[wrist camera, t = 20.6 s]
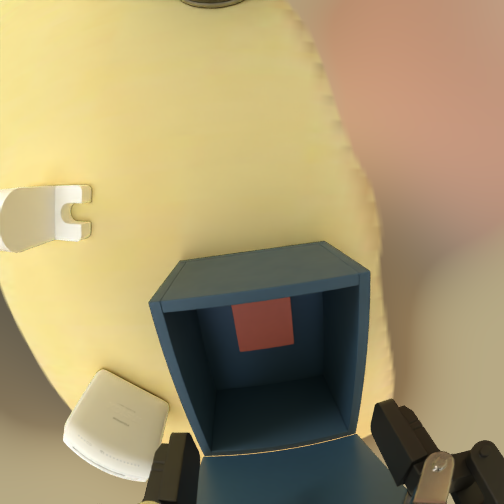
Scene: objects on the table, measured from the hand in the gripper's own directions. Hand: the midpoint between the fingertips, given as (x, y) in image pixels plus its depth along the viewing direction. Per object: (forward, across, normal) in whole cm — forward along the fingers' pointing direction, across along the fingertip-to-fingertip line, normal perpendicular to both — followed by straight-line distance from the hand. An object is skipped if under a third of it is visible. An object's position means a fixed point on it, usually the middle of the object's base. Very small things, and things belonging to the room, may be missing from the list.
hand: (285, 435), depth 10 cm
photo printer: (+17, +17, +12) cm, 27 cm away
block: (+16, 0, +1) cm, 16 cm away
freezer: (+17, 0, +4) cm, 17 cm away
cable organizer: (+17, +20, -11) cm, 29 cm away
